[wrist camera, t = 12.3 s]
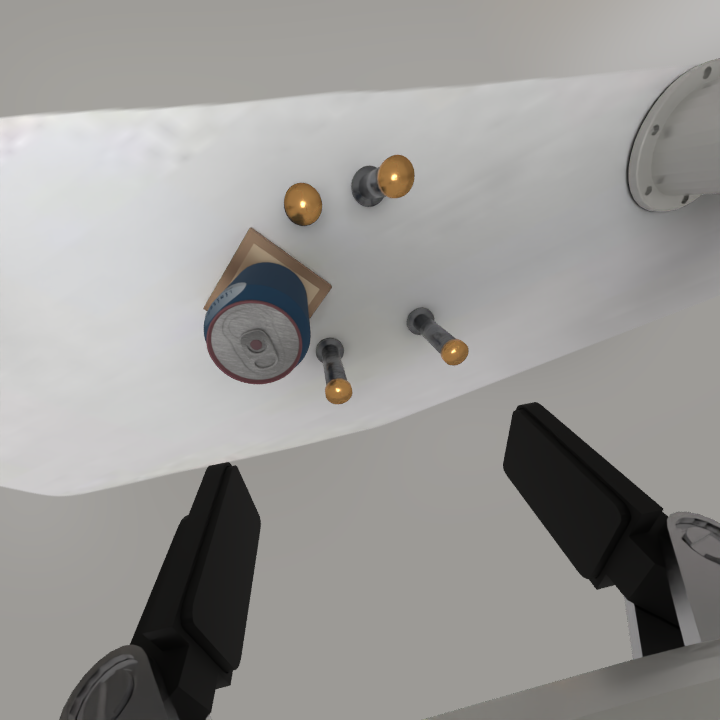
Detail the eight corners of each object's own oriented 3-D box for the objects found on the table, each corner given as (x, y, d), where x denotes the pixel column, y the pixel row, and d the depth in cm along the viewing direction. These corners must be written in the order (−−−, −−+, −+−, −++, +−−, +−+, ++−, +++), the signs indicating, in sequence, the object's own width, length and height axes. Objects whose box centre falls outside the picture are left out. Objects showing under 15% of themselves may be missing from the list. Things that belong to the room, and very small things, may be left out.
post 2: (326, 332, 33) (334, 371, 25) (348, 347, 34) (363, 388, 26) (310, 354, 33) (314, 398, 26) (333, 367, 35) (342, 412, 27)
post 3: (365, 157, 26) (394, 134, 18) (391, 183, 27) (429, 172, 19) (344, 190, 27) (363, 181, 19) (370, 214, 28) (398, 215, 20)
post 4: (419, 302, 33) (457, 330, 25) (438, 317, 34) (479, 349, 26) (401, 324, 34) (432, 358, 26) (420, 338, 35) (455, 374, 27)
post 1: (296, 177, 25) (295, 162, 18) (326, 203, 27) (337, 199, 19) (277, 209, 26) (268, 209, 18) (307, 233, 28) (310, 241, 20)
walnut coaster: (251, 227, 26) (249, 228, 26) (331, 284, 30) (332, 287, 29) (206, 305, 29) (202, 309, 28) (285, 350, 33) (284, 354, 32)
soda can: (220, 273, 27) (170, 313, 16) (291, 250, 27) (286, 274, 16) (254, 338, 30) (230, 405, 20) (316, 316, 30) (326, 372, 20)
